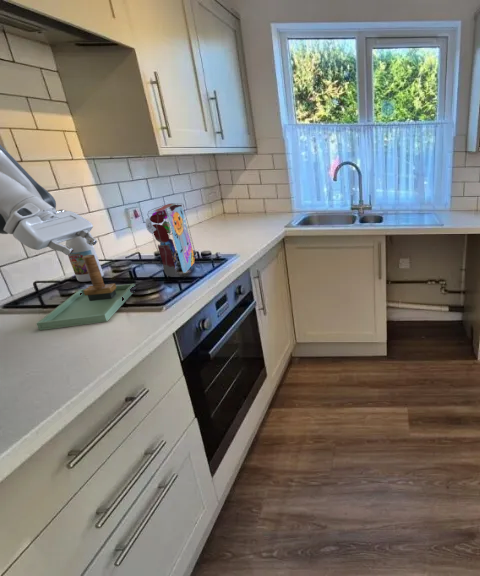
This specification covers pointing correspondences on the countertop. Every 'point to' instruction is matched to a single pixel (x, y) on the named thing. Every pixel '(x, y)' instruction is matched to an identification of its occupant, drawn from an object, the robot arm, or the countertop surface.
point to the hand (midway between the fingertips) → (83, 248)
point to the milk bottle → (81, 257)
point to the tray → (85, 309)
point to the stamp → (97, 282)
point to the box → (167, 244)
